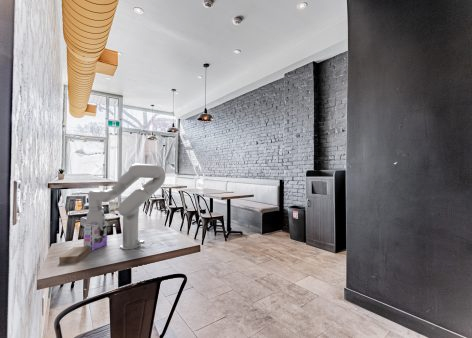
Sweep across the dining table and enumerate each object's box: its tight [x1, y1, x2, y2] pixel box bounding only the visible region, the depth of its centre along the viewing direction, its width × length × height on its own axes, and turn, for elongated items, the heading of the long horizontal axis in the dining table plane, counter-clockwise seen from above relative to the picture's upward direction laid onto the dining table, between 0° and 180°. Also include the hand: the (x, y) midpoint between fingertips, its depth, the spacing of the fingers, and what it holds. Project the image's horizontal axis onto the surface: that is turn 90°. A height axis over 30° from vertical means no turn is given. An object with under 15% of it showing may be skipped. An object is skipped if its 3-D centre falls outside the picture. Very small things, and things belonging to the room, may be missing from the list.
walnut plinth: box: [58, 245, 91, 265], centre depth 140 cm, size 9×17×4 cm, turn 12°
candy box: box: [83, 220, 108, 252], centre depth 156 cm, size 14×6×16 cm, turn 169°
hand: (95, 235), depth 156 cm, fingers closed on candy box, 7 cm apart
